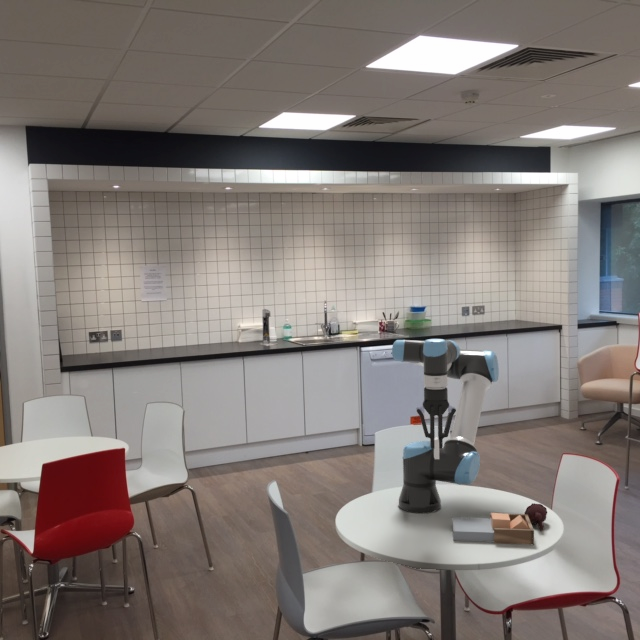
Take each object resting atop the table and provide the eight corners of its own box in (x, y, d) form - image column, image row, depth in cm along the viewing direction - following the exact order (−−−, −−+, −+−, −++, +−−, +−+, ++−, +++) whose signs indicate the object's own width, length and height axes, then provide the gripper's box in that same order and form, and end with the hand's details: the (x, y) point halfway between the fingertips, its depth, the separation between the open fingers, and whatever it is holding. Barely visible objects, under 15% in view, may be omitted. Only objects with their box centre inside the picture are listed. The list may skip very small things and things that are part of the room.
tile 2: (519, 514, 228) (526, 522, 228) (506, 524, 229) (512, 532, 229) (522, 520, 223) (528, 528, 223) (508, 531, 224) (514, 538, 224)
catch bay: (490, 526, 234) (490, 513, 234) (527, 527, 233) (527, 514, 232) (494, 543, 221) (494, 529, 220) (533, 544, 219) (533, 530, 218)
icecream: (519, 496, 244) (526, 516, 229) (540, 492, 242) (549, 511, 228) (524, 515, 245) (531, 535, 230) (545, 510, 243) (554, 531, 229)
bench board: (452, 525, 235) (452, 517, 235) (490, 527, 233) (490, 518, 233) (453, 540, 223) (453, 531, 223) (494, 541, 222) (494, 532, 221)
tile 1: (490, 522, 230) (491, 512, 230) (507, 523, 229) (508, 513, 229) (492, 528, 224) (492, 519, 224) (509, 529, 224) (510, 520, 223)
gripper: (416, 389, 224) (417, 461, 226) (457, 389, 223) (458, 461, 225) (414, 385, 231) (415, 454, 234) (454, 384, 230) (455, 454, 233)
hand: (436, 457), depth 229 cm, fingers closed
